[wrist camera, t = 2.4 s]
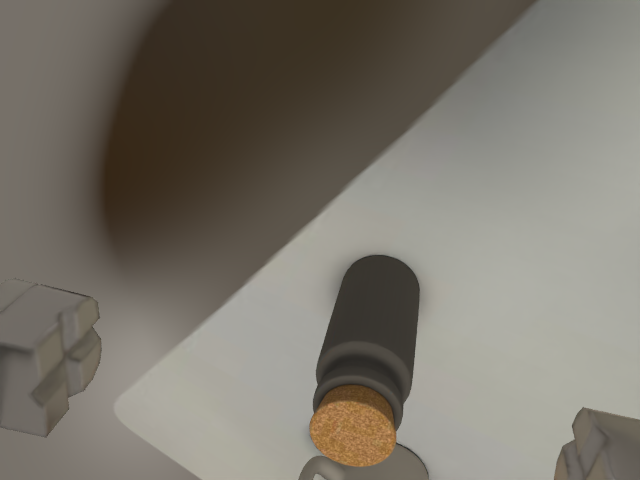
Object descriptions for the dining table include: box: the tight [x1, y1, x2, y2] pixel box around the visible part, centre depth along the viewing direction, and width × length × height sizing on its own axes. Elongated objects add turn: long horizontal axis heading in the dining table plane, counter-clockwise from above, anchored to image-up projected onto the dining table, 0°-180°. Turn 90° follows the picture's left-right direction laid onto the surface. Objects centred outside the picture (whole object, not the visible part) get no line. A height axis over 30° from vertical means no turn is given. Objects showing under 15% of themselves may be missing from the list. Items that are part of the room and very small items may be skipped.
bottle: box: [310, 256, 419, 467], centre depth 39 cm, size 6×6×15 cm
